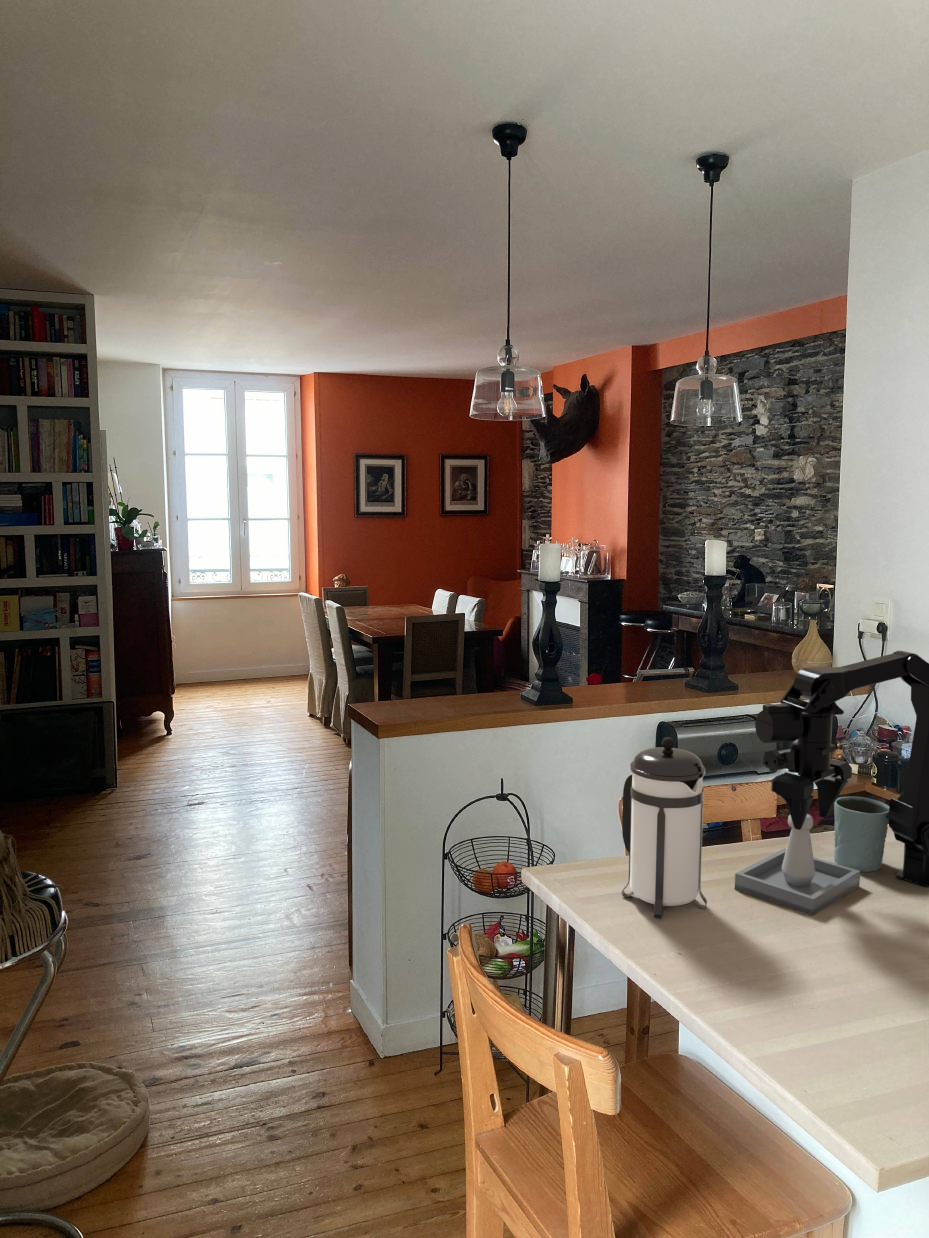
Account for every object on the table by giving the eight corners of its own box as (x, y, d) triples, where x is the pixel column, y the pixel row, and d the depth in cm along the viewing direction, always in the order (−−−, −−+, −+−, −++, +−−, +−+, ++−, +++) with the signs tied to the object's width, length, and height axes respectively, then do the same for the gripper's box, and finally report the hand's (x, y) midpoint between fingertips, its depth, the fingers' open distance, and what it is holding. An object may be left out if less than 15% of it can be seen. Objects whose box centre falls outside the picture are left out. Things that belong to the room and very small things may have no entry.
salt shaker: (817, 890, 165) (820, 820, 163) (784, 887, 166) (787, 818, 164) (811, 877, 170) (814, 810, 169) (778, 875, 171) (781, 808, 170)
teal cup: (825, 852, 185) (828, 795, 184) (878, 854, 184) (881, 797, 183) (839, 871, 176) (842, 811, 174) (894, 874, 174) (898, 814, 173)
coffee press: (714, 890, 167) (720, 730, 163) (698, 926, 153) (703, 752, 149) (622, 874, 174) (625, 721, 171) (598, 907, 160) (601, 741, 156)
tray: (783, 863, 180) (784, 848, 179) (859, 886, 169) (860, 870, 168) (734, 888, 168) (735, 873, 167) (812, 915, 157) (813, 899, 156)
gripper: (798, 722, 175) (794, 801, 177) (745, 739, 163) (742, 823, 165) (855, 733, 167) (851, 815, 169) (804, 752, 155) (800, 840, 157)
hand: (810, 822), depth 165 cm, fingers open, 9 cm apart
